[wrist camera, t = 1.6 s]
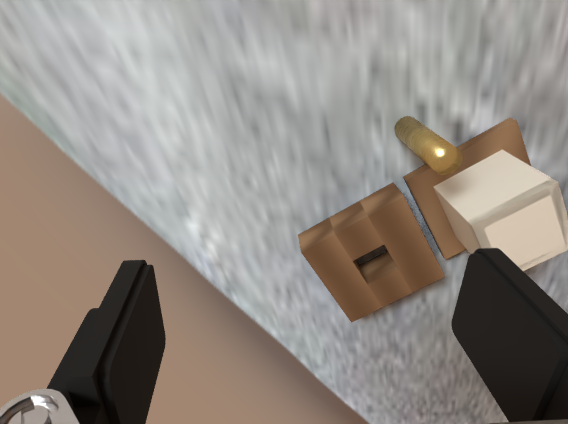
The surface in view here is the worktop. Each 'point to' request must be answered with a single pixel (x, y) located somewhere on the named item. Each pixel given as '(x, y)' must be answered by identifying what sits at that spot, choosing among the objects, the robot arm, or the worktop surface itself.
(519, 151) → the tile
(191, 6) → the worktop surface
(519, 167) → the block
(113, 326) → the robot arm
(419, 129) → the brass pin
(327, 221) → the socket tile
